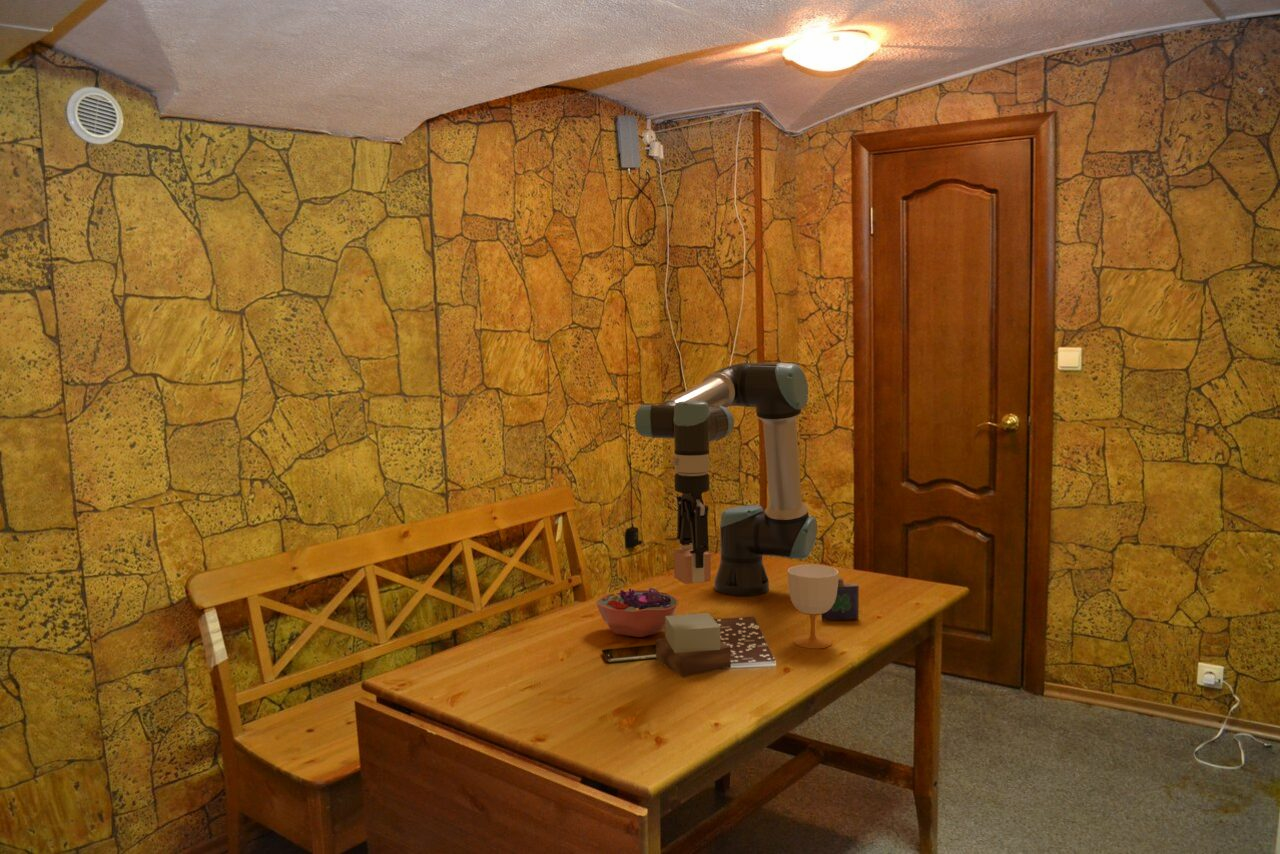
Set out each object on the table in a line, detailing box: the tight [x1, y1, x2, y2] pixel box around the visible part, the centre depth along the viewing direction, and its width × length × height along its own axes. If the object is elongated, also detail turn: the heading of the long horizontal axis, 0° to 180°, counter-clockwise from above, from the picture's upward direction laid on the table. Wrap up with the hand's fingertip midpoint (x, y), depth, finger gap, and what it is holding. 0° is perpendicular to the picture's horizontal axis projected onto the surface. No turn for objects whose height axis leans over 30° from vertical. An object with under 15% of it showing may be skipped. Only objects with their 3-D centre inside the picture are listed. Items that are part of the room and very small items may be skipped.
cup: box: [787, 563, 840, 650], centre depth 216 cm, size 12×12×17 cm
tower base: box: [655, 637, 732, 678], centre depth 204 cm, size 12×12×5 cm
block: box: [673, 549, 712, 585], centre depth 202 cm, size 6×6×6 cm
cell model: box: [595, 587, 679, 638], centre depth 224 cm, size 17×20×11 cm
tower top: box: [664, 612, 721, 653], centre depth 204 cm, size 10×10×5 cm
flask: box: [821, 576, 860, 622], centre depth 232 cm, size 9×3×11 cm, turn 88°
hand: (692, 577), depth 202 cm, fingers closed on block, 6 cm apart
